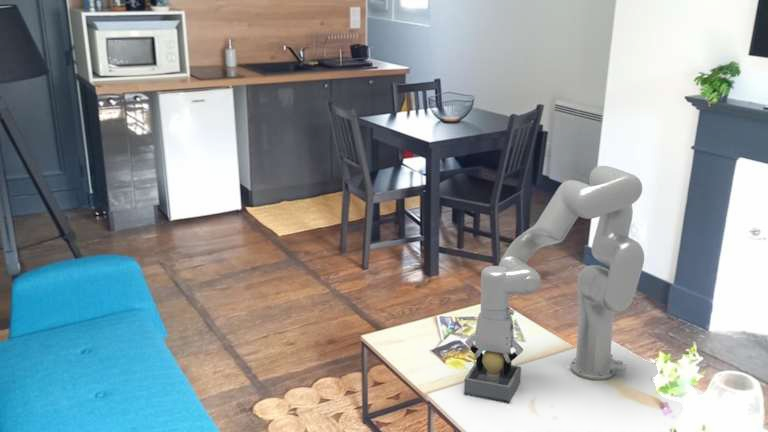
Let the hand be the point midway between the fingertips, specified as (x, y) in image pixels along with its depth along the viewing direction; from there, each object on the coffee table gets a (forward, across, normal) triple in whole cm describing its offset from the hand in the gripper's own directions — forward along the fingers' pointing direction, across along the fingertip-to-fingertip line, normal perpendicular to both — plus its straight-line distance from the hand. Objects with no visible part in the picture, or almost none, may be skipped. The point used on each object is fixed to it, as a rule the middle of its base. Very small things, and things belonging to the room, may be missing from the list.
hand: (493, 370), depth 200 cm
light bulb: (+4, 0, 0) cm, 4 cm away
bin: (+5, 0, 0) cm, 5 cm away
